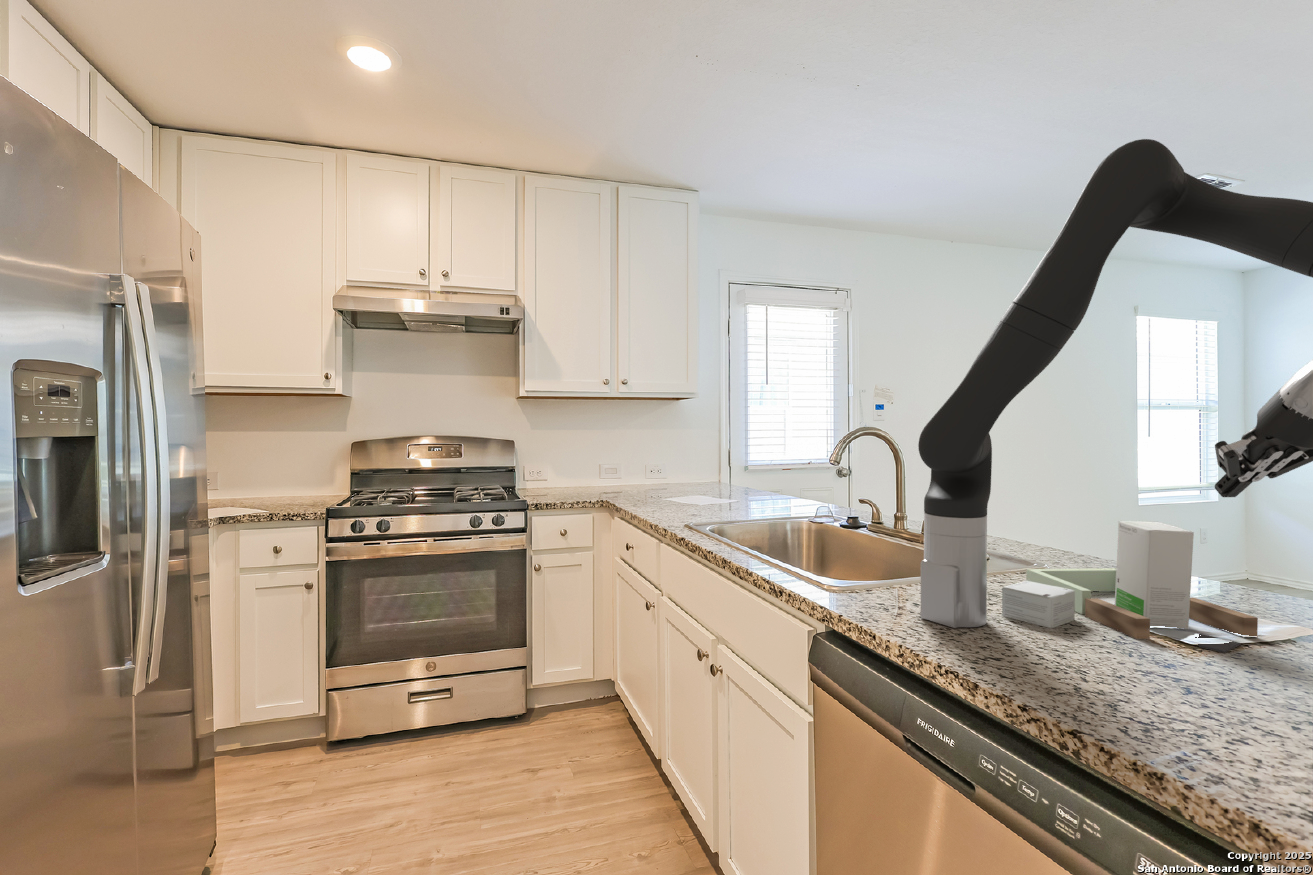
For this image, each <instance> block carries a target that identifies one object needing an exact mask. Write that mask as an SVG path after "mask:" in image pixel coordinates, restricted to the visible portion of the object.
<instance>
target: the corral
mask: <svg viewBox="0 0 1313 875" xmlns="http://www.w3.org/2000/svg"><path fill="white" fill-rule="evenodd" d="M1025 571H1026V577H1025V578H1026V580H1025V581H1031V582H1036V583H1041V584H1046V585H1051V586H1057V587H1062V588H1067V589H1071V590H1074V591H1075V612H1076V613H1078V614H1079V615H1085V598H1092V592H1093V591H1099V592H1115V587H1116V568H1109V567H1108V568H1026V570H1025Z"/></svg>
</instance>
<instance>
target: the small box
mask: <svg viewBox="0 0 1313 875" xmlns="http://www.w3.org/2000/svg"><path fill="white" fill-rule="evenodd" d="M1001 588H1002V591H1001V592H1002V594H1001V595H1002V596H1001V597H1002V599H1001V600H1002V602H1001V603H1002V604H1001V613H1002V614H1001V616H1002V617H1005V618H1008V619H1009V618H1010V619H1014V620H1017V621H1020V622H1025V623H1028V624H1031V625H1032V624H1033V625H1036V626H1039V627H1044V628H1047V629H1054V628H1057V627H1059V626H1060V627H1061V626H1062V625H1064V624H1068V623H1070V622H1073V621H1075V618H1076V617H1075V591H1074V590H1071V589H1067V588H1062V587H1057V586H1051V585H1046V584H1041V583H1036V582H1031V581H1026V580H1024V581H1020V582H1017V583H1012V584H1009V585H1004V586H1002V587H1001Z"/></svg>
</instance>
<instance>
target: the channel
mask: <svg viewBox="0 0 1313 875" xmlns="http://www.w3.org/2000/svg"><path fill="white" fill-rule="evenodd" d="M1084 617H1085V618H1088V619H1089V620H1093V621H1095V622H1096V623H1099V624H1101V625H1104V626H1106V627H1107V628H1110V629H1113V630H1114V631H1117V632H1118V633H1122V634H1123V635H1126V636H1127V637H1128V636H1129V637H1131V638H1132V639H1135V640H1150V639H1151V635H1150V634H1151V632H1150V631H1151V628H1150V619H1149V618H1147V617H1144V616H1141V615H1139V614H1136V613H1134V612H1131V611H1129V610H1126V609H1124V608H1121V607H1118V606H1116V605H1115V604H1113V603H1110V602H1108V601H1105V600H1103V599H1100V598H1095V597H1094V598H1093V597H1091V598H1085V614H1084ZM1189 618H1190V619H1189V620H1192V619H1193V621H1195V622H1198V621H1199V622H1198V623H1200V622H1201V624H1203V625H1207V626H1209V625H1211V626H1210V627H1212V626H1213V627H1212V628H1214V627H1216V628H1215V629H1217V628H1219V629H1218V630H1220V629H1224V630H1227V631H1229V632H1233V633H1238V634H1241V635H1249V636H1257V637H1258V629H1259V628H1258V626H1259V625H1258V622H1259V620H1258V619H1259V617H1256V616H1254V615H1251V614H1247V613H1244V612H1240V611H1238V610H1233V609H1232V608H1228V607H1225V606H1221V605H1219V604H1216V603H1212V602H1209V601H1207V600H1203V599H1199V598H1197V597H1190V608H1189Z"/></svg>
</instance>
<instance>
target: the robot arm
mask: <svg viewBox="0 0 1313 875" xmlns="http://www.w3.org/2000/svg"><path fill="white" fill-rule="evenodd" d="M1129 228H1134V229H1140V230H1145V231H1146V230H1147V231H1153V232H1158V233H1164V234H1171V235H1175V236H1181V237H1185V238H1190V239H1195V240H1199V241H1202V242H1207V243H1210V244H1213V245H1216V246H1218V247H1223V248H1225V249H1229V250H1231V251H1234V252H1236V253H1237V252H1238V253H1241V254H1243V255H1246V256H1249V257H1251V258H1255V259H1257V260H1259V261H1262V262H1265V263H1269V264H1270V265H1274V266H1276V267H1280V268H1282V269H1285V270H1289V271H1292V272H1294V273H1297V274H1301V275H1303V276H1306V277H1310V278H1313V201H1308V200H1302V199H1301V200H1300V199H1295V198H1285V197H1276V196H1275V197H1273V196H1260V195H1259V196H1257V195H1251V194H1250V195H1249V194H1244V193H1238V192H1234V191H1230V190H1227V189H1223V188H1221V187H1217V186H1215V185H1212V184H1211V183H1207V182H1205V181H1203V180H1201V179H1199V178H1197V177H1195V176H1193V175H1191V174H1189V173H1187V172H1186V171H1185V170H1184V168H1183V166H1182V165H1181V163H1180V162H1179V160H1178V159H1177V158H1176V156H1175V155H1174V154H1173V152H1172V151H1171V150H1170V149H1169V148H1168V147H1167V146H1165V144H1163V143H1162V142H1160V141H1157V140H1155V139H1149V138H1141V139H1137V140H1133V141H1130V142H1127V143H1125V144H1123V145H1121V146H1119V147H1118V148H1116V149H1115V150H1113V151H1112V152H1111V153H1109V154H1108V155H1107V156H1106V157H1105V158H1104V159H1103V160H1102V161H1101V162H1100V163H1099V164H1098V166H1097V167H1096V168H1095V170H1094V171H1093V173H1092V174H1091V175H1090V177H1089V179H1088V181H1087V183H1086V184H1085V186H1084V188H1083V189H1082V192H1080V195H1079V197H1078V199H1077V200H1076V203H1075V205H1074V206H1073V209H1072V210H1071V212H1070V213H1069V216H1068V217H1067V219H1066V221H1065V223H1064V224H1063V226H1062V228H1061V230H1060V231H1059V233H1058V234H1057V237H1056V238H1055V239H1054V241H1053V243H1052V244H1051V246H1049V249H1048V250H1047V251H1046V253H1045V254H1044V256H1043V257H1042V259H1041V260H1040V261H1039V263H1038V264H1037V266H1036V268H1035V269H1034V271H1033V272H1032V274H1031V275H1030V277H1029V278H1028V280H1027V281H1026V283H1025V284H1024V285H1023V287H1022V288H1021V289H1020V291H1019V292H1018V293H1017V295H1016V297H1015V298H1014V299H1013V300H1012V302H1011V303H1010V305H1009V307H1008V308H1007V310H1006V311H1005V312H1004V314H1003V315H1002V317H1001V318H1000V320H999V321H998V323H997V324H996V326H995V328H994V329H993V331H992V333H991V334H990V336H989V337H988V339H987V340H986V342H985V344H984V345H983V347H982V348H981V349H980V351H979V353H978V354H977V356H976V357H975V359H974V361H973V363H972V364H971V366H970V368H969V370H968V371H967V372H966V374H965V376H964V377H963V379H962V380H961V382H960V383H959V385H958V386H957V387H956V389H955V390H954V391H953V392H952V393H951V395H950V396H949V397H948V399H946V401H945V402H944V403H943V404H942V406H941V407H940V408H939V409H938V410H937V412H936V413H935V414H934V415H933V416H932V418H930V420H929V421H928V422H927V423H926V425H925V426H924V427H923V428H922V431H921V433H920V435H919V439H918V444H917V446H918V453H919V456H920V459H921V460H922V462H923V463H924V465H925V466H927V467H928V468H929V469H930V481H929V487H928V490H927V492H926V493H925V496H924V499H923V501H924V502H923V560H921V561H920V618H921V619H923V620H927V621H931V622H934V623H937V624H940V625H944V626H946V627H950V628H953V629H958V628H978V627H982V626H984V625H986V624H987V620H988V618H987V610H988V609H987V608H988V607H987V606H988V604H987V602H988V598H987V594H988V592H987V591H988V589H987V588H988V586H987V584H988V583H987V582H988V578H987V576H988V575H987V573H988V571H987V570H988V565H987V563H988V562H987V561H988V559H987V557H988V544H987V543H988V504H989V500H990V497H991V491H992V468H993V467H992V465H993V464H992V463H993V448H992V447H993V446H992V437H991V436H990V432H991V430H992V429H993V426H994V425H995V423H996V422H997V420H998V419H999V417H1000V416H1001V414H1002V413H1003V412H1004V410H1005V409H1006V408H1007V407H1008V405H1009V404H1010V403H1011V402H1012V401H1013V400H1014V399H1015V398H1016V396H1017V395H1018V394H1020V393H1021V391H1023V390H1024V389H1026V388H1027V387H1028V385H1029V384H1030V383H1032V382H1033V381H1034V380H1035V379H1036V377H1038V376H1039V375H1040V374H1041V373H1042V372H1043V371H1044V370H1045V369H1046V368H1047V367H1048V366H1049V365H1050V364H1051V363H1052V362H1053V361H1054V360H1055V358H1056V357H1057V356H1058V354H1059V353H1060V352H1061V351H1062V349H1063V348H1064V347H1065V345H1066V344H1067V342H1068V341H1069V339H1070V338H1071V337H1072V336H1073V334H1074V333H1075V331H1076V330H1077V329H1078V327H1079V326H1080V324H1081V322H1082V321H1083V319H1084V318H1085V316H1086V313H1087V312H1088V308H1089V306H1090V304H1091V301H1092V298H1093V295H1094V293H1095V291H1096V287H1097V284H1098V282H1099V278H1100V276H1101V273H1102V270H1103V267H1104V266H1105V264H1106V262H1107V260H1108V257H1109V255H1111V253H1112V251H1113V249H1114V248H1115V247H1116V245H1117V243H1118V242H1119V241H1120V239H1121V238H1122V237H1123V235H1124V234H1125V233H1126V231H1128V229H1129ZM1214 449H1215V455H1216V462H1217V465H1218V466H1219V468H1221V469H1222V471H1223V472H1224V473H1225V474H1224V475H1223V476H1222V477H1221V478H1220V479H1218V480H1217V482H1215V484H1214V489H1215V491H1216V492H1217V493H1218V494H1219V495H1220V496H1221V497H1222V498H1237V496H1238V495H1240V494H1241V493H1242V492H1244V491H1245V490H1246V489H1247V488H1248V487H1249V486H1250V485H1251V484H1252V483H1255V482H1259V481H1261V480H1262V479H1264V478H1265V477H1267V478H1269V479H1275V478H1278V477H1280V476H1282V475H1285V474H1287V473H1289V472H1291V471H1293V470H1296V469H1298V468H1300V467H1302V466H1305V465H1307V464H1309V463H1313V358H1312V359H1311V360H1310V361H1309V362H1307V363H1306V364H1305V365H1303V366H1302V367H1300V368H1299V369H1298V370H1297V371H1296V372H1294V374H1293V375H1292V376H1291V377H1290V378H1289V379H1288V380H1287V381H1286V382H1285V383H1283V385H1282V386H1281V387H1280V388H1279V389H1278V390H1277V391H1276V392H1275V393H1274V395H1272V396H1271V397H1270V398H1269V399H1268V400H1267V402H1266V403H1264V405H1262V407H1261V408H1260V409H1258V412H1257V414H1256V425H1255V427H1254V426H1253V428H1252V429H1250V430H1249V431H1248V430H1247V431H1246V432H1245V433H1244V434H1243V435H1242V436H1241V439H1240V440H1238V441H1234V442H1232V443H1227V441H1225V440H1221V441H1218V442H1216V443H1215V444H1214Z"/></svg>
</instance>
